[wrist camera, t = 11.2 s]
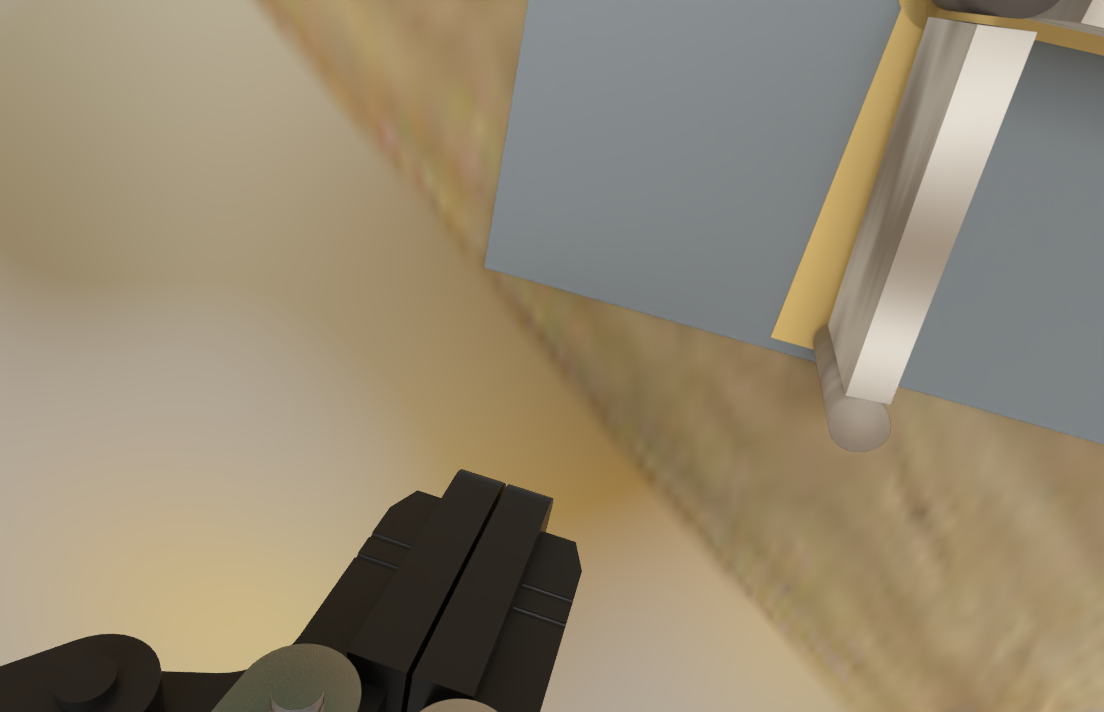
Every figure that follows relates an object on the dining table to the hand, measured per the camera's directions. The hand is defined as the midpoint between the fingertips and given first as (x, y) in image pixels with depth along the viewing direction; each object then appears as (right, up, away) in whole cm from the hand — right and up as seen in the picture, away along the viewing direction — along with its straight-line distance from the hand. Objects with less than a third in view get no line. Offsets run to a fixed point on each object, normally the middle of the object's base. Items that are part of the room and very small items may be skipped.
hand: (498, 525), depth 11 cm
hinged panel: (+11, +8, +11) cm, 18 cm away
